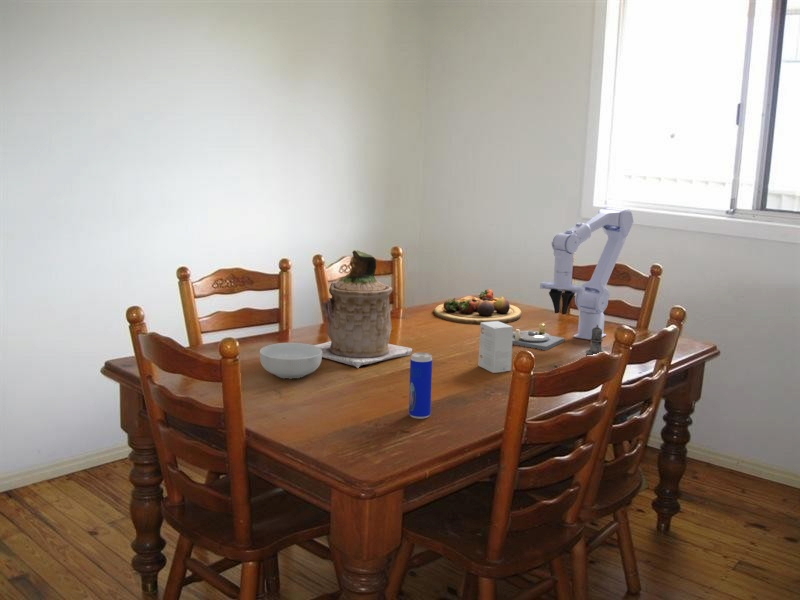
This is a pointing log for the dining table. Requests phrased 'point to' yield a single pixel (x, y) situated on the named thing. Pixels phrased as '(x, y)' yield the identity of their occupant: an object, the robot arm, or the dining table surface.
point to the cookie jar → (359, 317)
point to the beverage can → (420, 385)
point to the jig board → (539, 345)
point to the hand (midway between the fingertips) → (560, 313)
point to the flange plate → (534, 335)
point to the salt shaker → (595, 342)
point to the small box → (495, 346)
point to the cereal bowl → (290, 359)
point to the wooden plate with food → (478, 309)
